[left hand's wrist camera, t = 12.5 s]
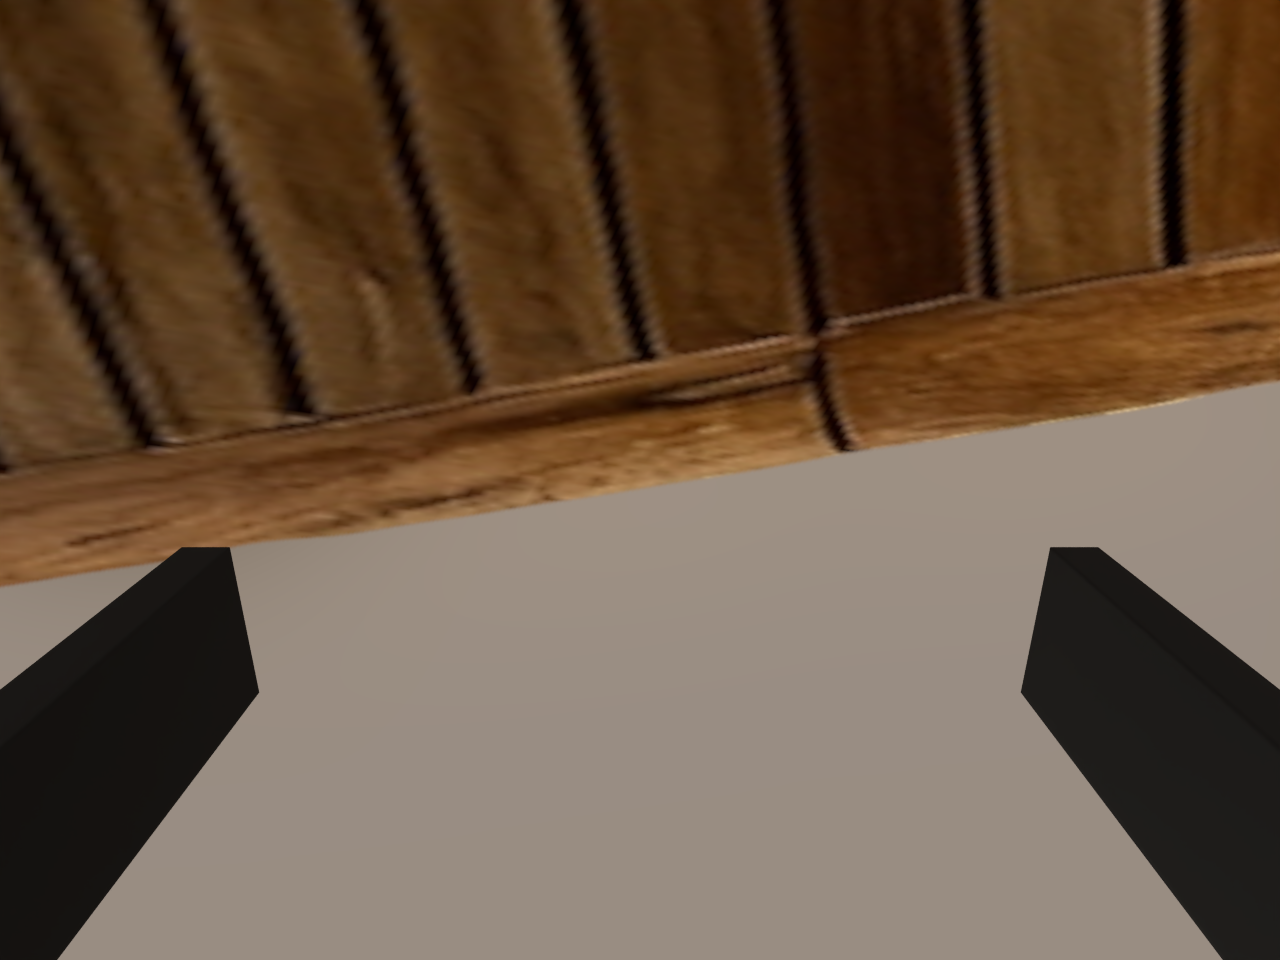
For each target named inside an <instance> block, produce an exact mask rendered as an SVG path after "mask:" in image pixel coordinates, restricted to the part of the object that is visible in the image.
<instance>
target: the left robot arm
mask: <svg viewBox="0 0 1280 960" xmlns="http://www.w3.org/2000/svg"><path fill="white" fill-rule="evenodd" d="M258 693H259V689H258V684H257V680H256V675H255V670H254V665H253V660H252V655H251V650H250V645H249V640H248V635H247V630H246V625H245V620H244V615H243V611H242V606H241V601H240V596H239V591H238V586H237V581H236V576H235V571H234V566H233V561H232V556H231V552H230V547H182V548H180V549H179V550H178V551H176V552H175V553H174V554H173V555H171V556H170V557H169V558H168V559H166V560H165V561H164V562H162V563H161V564H160V565H159V566H157V567H156V568H155V569H154V570H152V571H151V572H150V573H148V574H147V575H146V576H145V577H143V578H142V579H141V580H139V581H138V582H137V583H136V584H134V585H133V586H132V587H131V588H129V589H128V590H127V591H125V592H124V593H123V594H122V595H120V596H119V597H118V598H117V599H115V600H114V601H113V602H111V603H110V604H109V605H108V606H106V607H105V608H104V609H103V610H101V611H100V612H99V613H97V614H96V615H95V616H94V617H92V618H91V619H90V620H88V621H87V622H86V623H85V624H83V625H82V626H81V627H80V628H78V629H77V630H76V631H74V632H73V633H72V634H71V635H69V636H68V637H67V638H66V639H64V640H63V641H62V642H60V643H59V644H58V645H57V646H55V647H54V648H53V649H52V650H50V651H49V652H48V653H46V654H45V655H44V656H43V657H41V658H40V659H39V660H38V661H36V662H35V663H34V664H32V665H31V666H30V667H29V668H27V669H26V670H25V671H23V672H22V673H21V674H20V675H18V676H17V677H16V678H14V679H13V680H12V681H11V682H9V683H8V684H7V685H6V686H4V687H3V688H2V689H0V960H57V959H58V958H59V957H60V955H61V954H62V953H63V951H64V950H65V949H66V947H67V946H68V945H69V943H70V942H71V941H72V939H73V938H74V937H75V935H76V934H77V933H78V931H79V930H80V929H81V928H82V926H83V925H84V924H85V922H86V921H87V920H88V918H89V917H90V916H91V914H92V913H93V912H94V910H95V909H96V908H97V906H98V905H99V904H100V902H101V901H102V900H103V898H104V897H105V896H106V894H107V893H108V892H109V890H110V889H111V888H112V886H113V885H114V884H115V882H116V881H117V880H118V879H119V877H120V876H121V875H122V873H123V872H124V871H125V869H126V868H127V867H128V865H129V864H130V863H131V861H132V860H133V859H134V857H135V856H136V855H137V853H138V852H139V851H140V849H141V848H142V847H143V845H144V844H145V843H146V841H147V840H148V839H149V837H150V836H151V835H152V834H153V832H154V831H155V830H156V828H157V827H158V826H159V824H160V823H161V822H162V820H163V819H164V818H165V816H166V815H167V814H168V812H169V811H170V810H171V808H172V807H173V806H174V804H175V803H176V802H177V800H178V799H179V798H180V796H181V795H182V794H183V792H184V791H185V790H186V789H187V787H188V786H189V785H190V783H191V782H192V780H193V779H194V778H195V777H196V775H197V774H198V773H199V771H200V770H201V769H202V767H203V766H204V765H205V763H206V762H207V761H208V759H209V758H210V757H211V755H212V754H213V753H214V751H215V750H216V749H217V747H218V746H219V745H220V744H221V742H222V741H223V740H224V738H225V737H226V736H227V734H228V733H229V732H230V730H231V729H232V728H233V726H234V725H235V724H236V722H237V721H238V720H239V718H240V717H241V716H242V714H243V713H244V712H245V710H246V709H247V708H248V706H249V705H250V704H251V702H252V701H253V700H254V699H255V697H256V696H257V695H258ZM1021 693H1022V694H1023V696H1024V697H1025V698H1026V700H1027V701H1028V702H1029V704H1030V705H1031V706H1032V708H1033V709H1034V710H1035V712H1036V713H1037V714H1038V716H1039V717H1040V718H1041V720H1042V721H1043V722H1044V724H1045V725H1046V726H1047V728H1048V729H1049V730H1050V732H1051V733H1052V734H1053V736H1054V737H1055V738H1056V739H1057V741H1058V742H1059V743H1060V745H1061V746H1062V747H1063V749H1064V750H1065V751H1066V753H1067V754H1068V755H1069V757H1070V758H1071V759H1072V761H1073V762H1074V763H1075V765H1076V766H1077V767H1078V769H1079V770H1080V771H1081V773H1082V774H1083V775H1084V777H1085V778H1086V779H1087V781H1088V782H1089V783H1090V785H1091V786H1092V787H1093V789H1094V790H1095V791H1096V792H1097V794H1098V795H1099V796H1100V798H1101V799H1102V800H1103V802H1104V803H1105V804H1106V806H1107V807H1108V808H1109V810H1110V811H1111V812H1112V814H1113V815H1114V816H1115V818H1116V819H1117V820H1118V822H1119V823H1120V824H1121V826H1122V827H1123V828H1124V830H1125V831H1126V832H1127V834H1128V835H1129V836H1130V838H1131V839H1132V840H1133V841H1134V843H1135V844H1136V845H1137V847H1138V848H1139V849H1140V851H1141V852H1142V853H1143V855H1144V856H1145V857H1146V859H1147V860H1148V861H1149V863H1150V864H1151V865H1152V867H1153V868H1154V869H1155V871H1156V872H1157V873H1158V875H1159V876H1160V877H1161V879H1162V880H1163V881H1164V883H1165V884H1166V885H1167V886H1168V888H1169V889H1170V890H1171V892H1172V893H1173V894H1174V896H1175V897H1176V898H1177V900H1178V901H1179V902H1180V904H1181V905H1182V906H1183V908H1184V909H1185V910H1186V912H1187V913H1188V914H1189V916H1190V917H1191V918H1192V920H1193V921H1194V922H1195V924H1196V925H1197V926H1198V927H1199V929H1200V930H1201V931H1202V933H1203V934H1204V935H1205V937H1206V938H1207V939H1208V941H1209V942H1210V943H1211V945H1212V946H1213V947H1214V949H1215V950H1216V951H1217V953H1218V954H1219V955H1220V957H1221V958H1222V959H1223V960H1280V689H1278V688H1277V687H1276V686H1274V685H1273V684H1272V683H1271V682H1269V681H1268V680H1267V679H1265V678H1264V677H1263V676H1262V675H1260V674H1259V673H1258V672H1257V671H1255V670H1254V669H1253V668H1251V667H1250V666H1249V665H1248V664H1246V663H1245V662H1244V661H1243V660H1241V659H1240V658H1239V657H1237V656H1236V655H1235V654H1234V653H1232V652H1231V651H1230V650H1228V649H1227V648H1226V647H1225V646H1223V645H1222V644H1221V643H1220V642H1218V641H1217V640H1216V639H1214V638H1213V637H1212V636H1211V635H1209V634H1208V633H1207V632H1206V631H1204V630H1203V629H1202V628H1200V627H1199V626H1198V625H1197V624H1195V623H1194V622H1193V621H1192V620H1190V619H1189V618H1188V617H1186V616H1185V615H1184V614H1183V613H1181V612H1180V611H1179V610H1177V609H1176V608H1175V607H1174V606H1172V605H1171V604H1170V603H1169V602H1167V601H1166V600H1165V599H1163V598H1162V597H1161V596H1160V595H1158V594H1157V593H1156V592H1155V591H1153V590H1152V589H1151V588H1149V587H1148V586H1147V585H1146V584H1144V583H1143V582H1142V581H1140V580H1139V579H1138V578H1137V577H1135V576H1134V575H1133V574H1132V573H1130V572H1129V571H1128V570H1126V569H1125V568H1124V567H1123V566H1121V565H1120V564H1119V563H1118V562H1116V561H1115V560H1114V559H1112V558H1111V557H1110V556H1109V555H1107V554H1106V553H1105V552H1103V551H1102V550H1101V549H1100V548H1098V547H1051V548H1050V551H1049V556H1048V561H1047V566H1046V571H1045V576H1044V581H1043V586H1042V591H1041V596H1040V601H1039V606H1038V611H1037V615H1036V620H1035V625H1034V630H1033V635H1032V640H1031V645H1030V650H1029V655H1028V660H1027V665H1026V670H1025V675H1024V680H1023V684H1022V689H1021Z"/></svg>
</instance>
